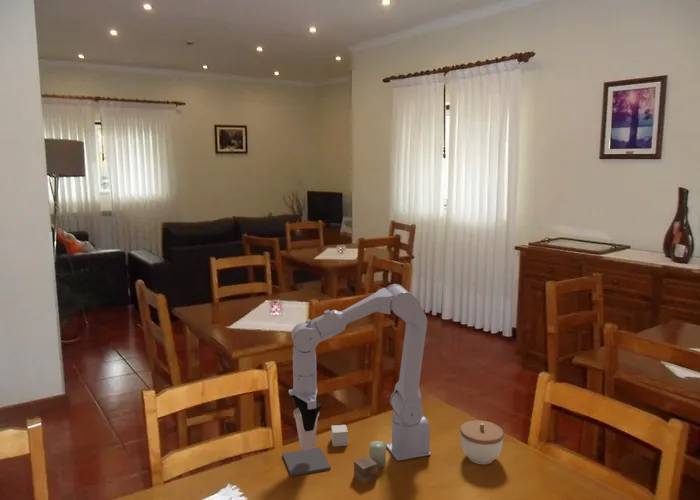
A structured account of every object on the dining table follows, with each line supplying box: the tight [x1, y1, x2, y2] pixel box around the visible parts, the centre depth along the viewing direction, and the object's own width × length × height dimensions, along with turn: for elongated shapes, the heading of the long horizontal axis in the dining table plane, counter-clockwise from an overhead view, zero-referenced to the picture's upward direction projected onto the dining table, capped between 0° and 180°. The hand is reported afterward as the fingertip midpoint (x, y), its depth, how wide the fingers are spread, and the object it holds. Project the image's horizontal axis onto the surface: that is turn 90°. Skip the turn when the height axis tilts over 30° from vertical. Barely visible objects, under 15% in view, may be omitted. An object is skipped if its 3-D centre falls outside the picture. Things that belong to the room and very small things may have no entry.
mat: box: [282, 446, 332, 477], centre depth 141 cm, size 10×10×1 cm
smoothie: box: [293, 407, 320, 451], centre depth 140 cm, size 6×6×14 cm
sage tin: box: [369, 440, 387, 469], centre depth 140 cm, size 4×4×5 cm
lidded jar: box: [459, 419, 505, 465], centre depth 142 cm, size 11×11×9 cm
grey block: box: [330, 424, 349, 447], centre depth 151 cm, size 4×4×4 cm
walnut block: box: [353, 456, 378, 485], centre depth 134 cm, size 4×4×4 cm
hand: (305, 424), depth 139 cm, fingers closed on smoothie, 6 cm apart
